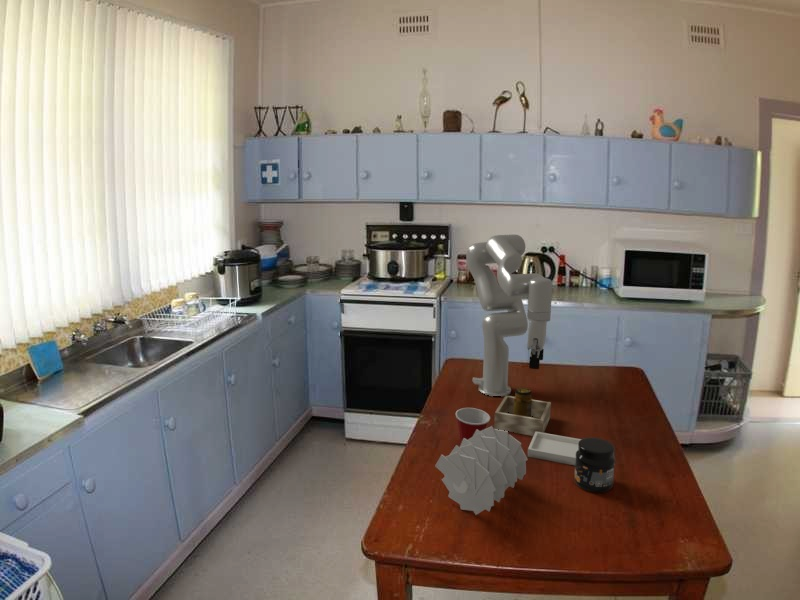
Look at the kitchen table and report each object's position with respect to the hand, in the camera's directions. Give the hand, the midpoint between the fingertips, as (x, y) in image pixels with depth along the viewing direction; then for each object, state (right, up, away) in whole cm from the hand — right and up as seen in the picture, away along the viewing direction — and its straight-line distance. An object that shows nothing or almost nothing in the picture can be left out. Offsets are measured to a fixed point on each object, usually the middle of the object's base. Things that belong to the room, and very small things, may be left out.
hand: (536, 364), depth 198 cm
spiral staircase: (-24, -32, -39) cm, 56 cm away
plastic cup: (-24, -26, -14) cm, 38 cm away
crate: (-4, -21, +4) cm, 22 cm away
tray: (+4, -26, -16) cm, 31 cm away
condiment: (-4, -21, +4) cm, 22 cm away
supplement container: (+8, -30, -33) cm, 46 cm away
